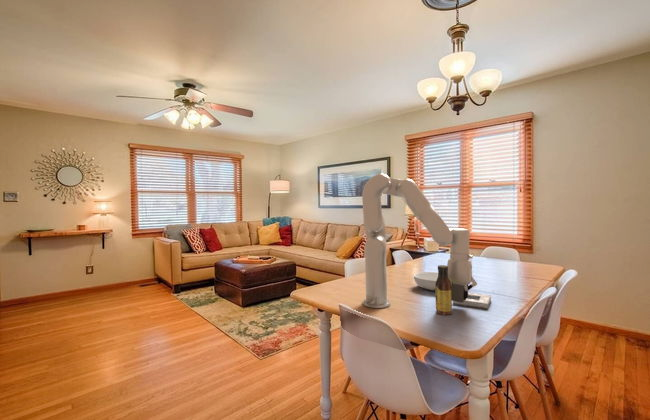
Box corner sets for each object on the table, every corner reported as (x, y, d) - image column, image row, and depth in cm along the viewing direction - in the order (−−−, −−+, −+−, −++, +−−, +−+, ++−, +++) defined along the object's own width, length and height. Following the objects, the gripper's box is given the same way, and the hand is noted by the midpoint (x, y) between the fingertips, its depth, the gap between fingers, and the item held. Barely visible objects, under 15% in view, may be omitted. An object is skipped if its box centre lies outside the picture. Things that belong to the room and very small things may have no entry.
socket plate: (487, 309, 132) (487, 302, 132) (452, 304, 139) (452, 297, 139) (490, 300, 143) (490, 294, 143) (458, 296, 151) (458, 290, 151)
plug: (463, 302, 131) (463, 286, 130) (450, 300, 133) (451, 284, 133) (465, 299, 135) (465, 283, 135) (453, 297, 137) (453, 282, 137)
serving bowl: (448, 296, 152) (448, 282, 152) (407, 290, 164) (407, 277, 164) (459, 287, 168) (459, 274, 168) (421, 282, 181) (421, 270, 181)
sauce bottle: (438, 309, 133) (438, 263, 132) (453, 312, 129) (453, 265, 129) (433, 313, 128) (432, 266, 127) (448, 317, 124) (448, 267, 123)
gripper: (482, 257, 132) (480, 299, 132) (441, 253, 141) (439, 292, 142) (480, 260, 126) (478, 304, 126) (437, 255, 135) (435, 296, 136)
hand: (458, 297), depth 134 cm, fingers closed on plug, 5 cm apart
